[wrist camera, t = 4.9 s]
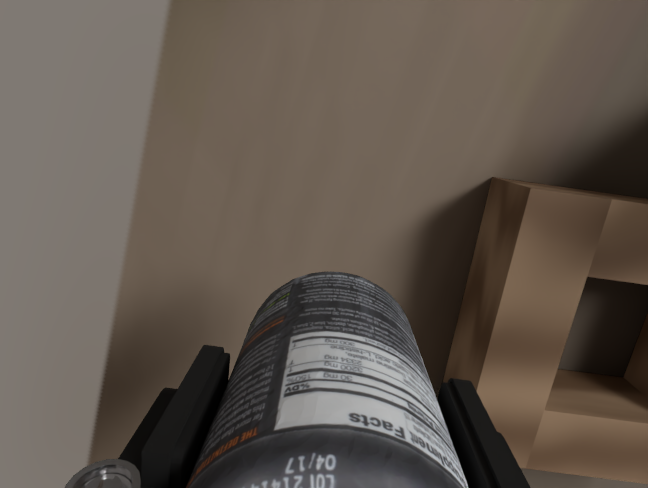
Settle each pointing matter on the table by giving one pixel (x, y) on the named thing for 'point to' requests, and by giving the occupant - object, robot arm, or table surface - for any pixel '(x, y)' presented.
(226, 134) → the table surface
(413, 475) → the pill bottle
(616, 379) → the socket block
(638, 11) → the table surface
